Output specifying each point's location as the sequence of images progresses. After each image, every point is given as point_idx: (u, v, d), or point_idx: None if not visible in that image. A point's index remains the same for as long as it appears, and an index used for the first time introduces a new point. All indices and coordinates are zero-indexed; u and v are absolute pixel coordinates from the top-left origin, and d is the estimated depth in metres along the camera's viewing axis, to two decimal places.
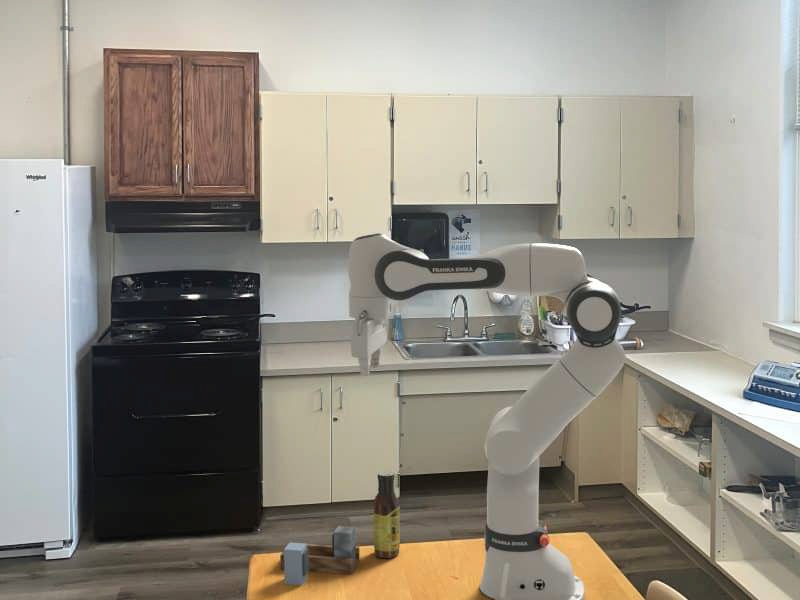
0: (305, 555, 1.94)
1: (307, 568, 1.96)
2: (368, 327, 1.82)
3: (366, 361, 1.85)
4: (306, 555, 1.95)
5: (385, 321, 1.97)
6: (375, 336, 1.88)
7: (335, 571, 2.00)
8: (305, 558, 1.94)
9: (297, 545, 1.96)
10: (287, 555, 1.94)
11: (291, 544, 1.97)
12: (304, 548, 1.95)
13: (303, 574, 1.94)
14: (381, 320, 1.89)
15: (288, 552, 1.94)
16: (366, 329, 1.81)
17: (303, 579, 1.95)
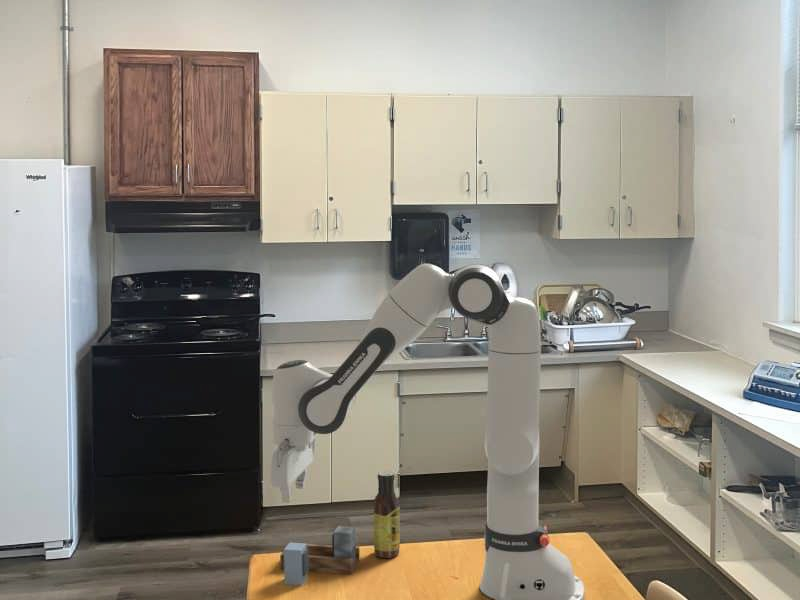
0: (305, 555, 1.94)
1: (307, 568, 1.96)
2: (288, 458, 1.84)
3: (287, 489, 1.87)
4: (306, 555, 1.95)
5: (311, 441, 2.00)
6: (297, 462, 1.91)
7: (335, 571, 2.00)
8: (305, 558, 1.94)
9: (297, 545, 1.96)
10: (287, 555, 1.94)
11: (291, 544, 1.97)
12: (304, 548, 1.95)
13: (303, 574, 1.94)
14: (304, 446, 1.91)
15: (288, 552, 1.94)
16: (286, 460, 1.84)
17: (303, 579, 1.95)
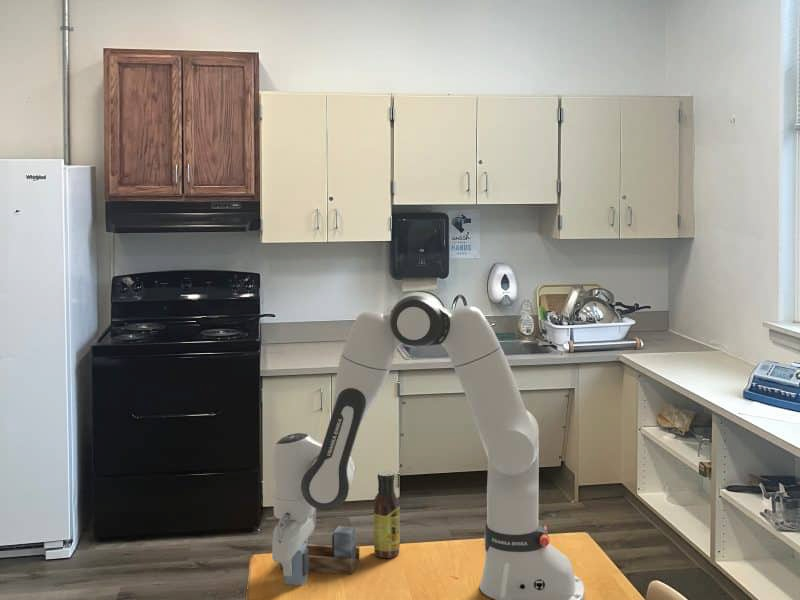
0: (305, 555, 1.94)
1: (307, 568, 1.96)
2: (289, 533, 1.86)
3: (288, 563, 1.89)
4: (306, 555, 1.95)
5: None
6: (298, 535, 1.93)
7: (335, 571, 2.00)
8: (305, 558, 1.94)
9: None
10: None
11: None
12: (304, 548, 1.95)
13: (303, 574, 1.94)
14: (304, 519, 1.93)
15: None
16: (287, 536, 1.85)
17: (303, 579, 1.95)
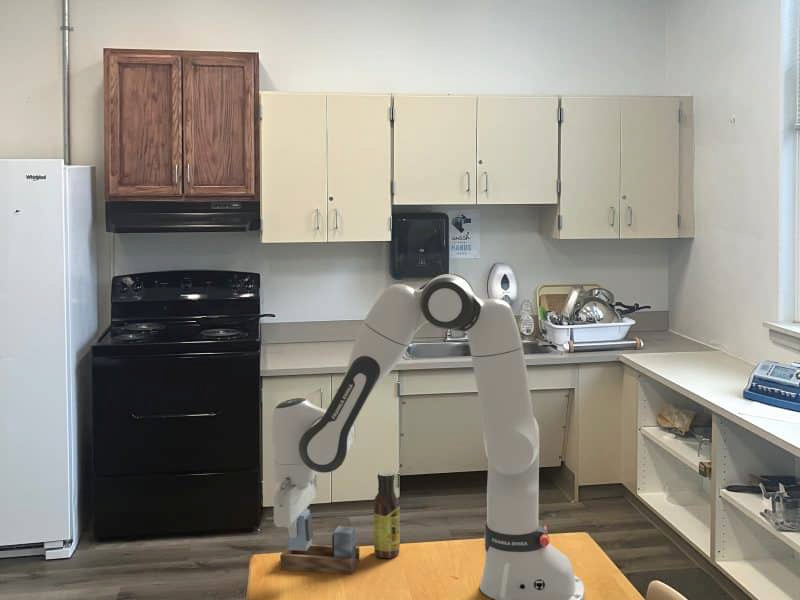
0: (308, 520, 1.93)
1: (311, 533, 1.95)
2: (290, 497, 1.85)
3: (293, 524, 1.90)
4: (309, 520, 1.94)
5: (313, 478, 2.01)
6: (300, 500, 1.92)
7: (335, 571, 2.00)
8: (308, 523, 1.93)
9: None
10: None
11: None
12: (307, 513, 1.94)
13: (307, 539, 1.93)
14: (305, 484, 1.92)
15: None
16: (288, 500, 1.84)
17: (307, 545, 1.94)
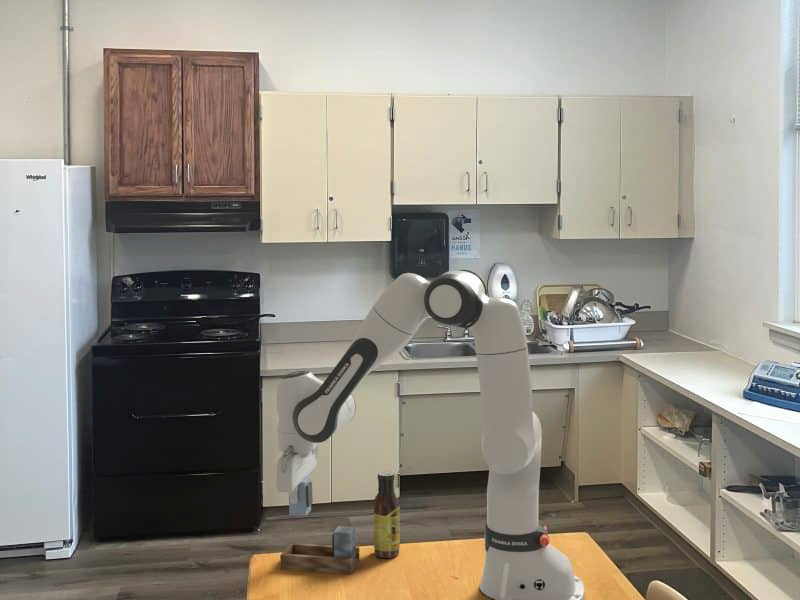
0: (308, 487, 2.02)
1: (311, 500, 2.03)
2: (292, 464, 1.94)
3: (294, 491, 1.99)
4: (310, 487, 2.03)
5: (314, 448, 2.10)
6: (301, 468, 2.00)
7: (335, 571, 2.00)
8: (308, 490, 2.02)
9: None
10: None
11: None
12: (307, 481, 2.03)
13: (307, 505, 2.02)
14: (307, 452, 2.01)
15: None
16: (290, 466, 1.93)
17: (307, 510, 2.03)
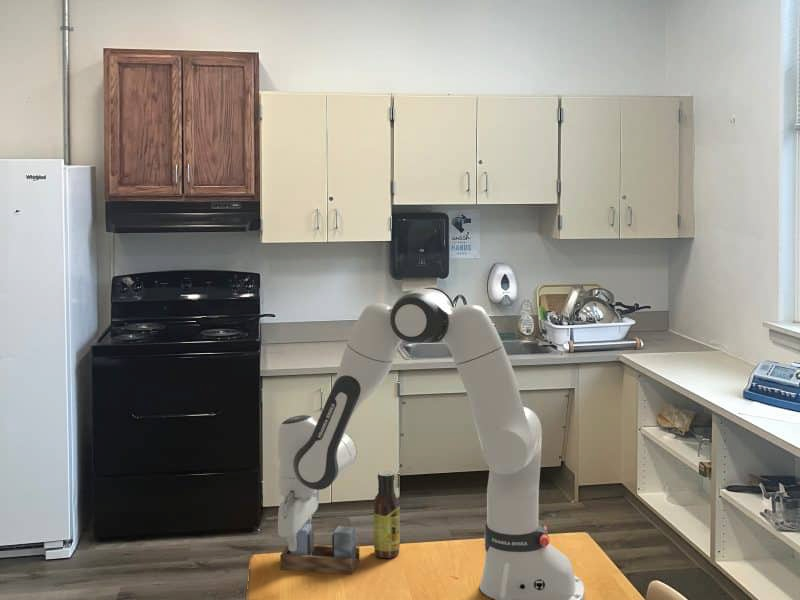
0: (310, 535, 2.03)
1: (312, 548, 2.05)
2: (294, 509, 1.95)
3: (293, 538, 1.98)
4: (311, 535, 2.04)
5: None
6: (303, 512, 2.01)
7: (335, 571, 2.00)
8: (310, 538, 2.03)
9: None
10: None
11: None
12: (309, 528, 2.04)
13: (308, 553, 2.03)
14: (308, 497, 2.02)
15: None
16: (291, 512, 1.94)
17: None
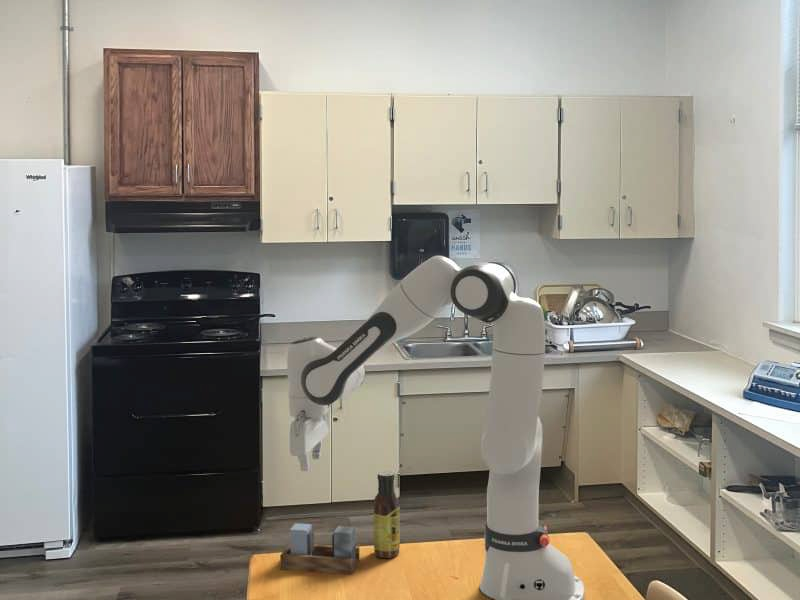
0: (310, 535, 2.03)
1: (312, 548, 2.05)
2: (305, 427, 1.95)
3: (305, 458, 1.98)
4: (311, 535, 2.04)
5: (325, 414, 2.11)
6: (314, 433, 2.02)
7: (335, 571, 2.00)
8: (310, 538, 2.03)
9: (302, 525, 2.05)
10: (293, 535, 2.03)
11: (297, 525, 2.06)
12: (309, 528, 2.04)
13: (308, 553, 2.03)
14: (319, 417, 2.02)
15: (294, 532, 2.03)
16: (303, 430, 1.95)
17: None
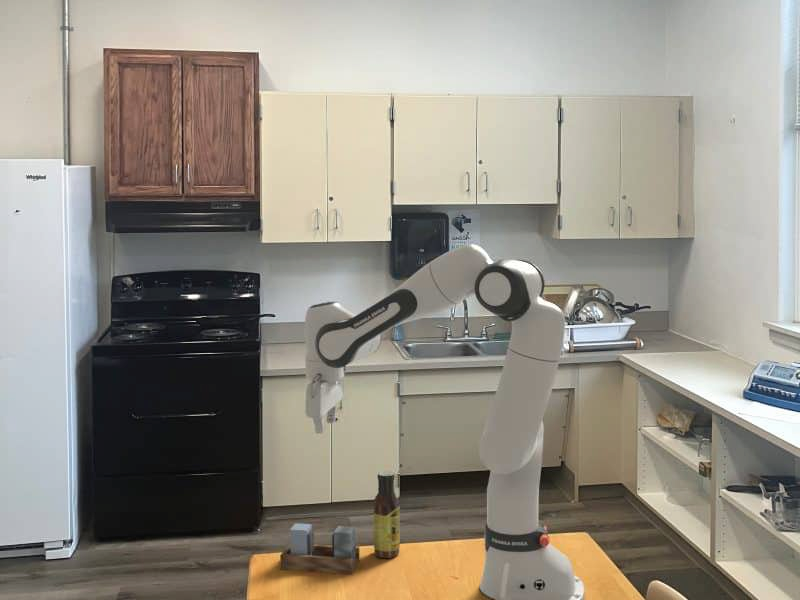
0: (310, 535, 2.03)
1: (312, 548, 2.05)
2: (321, 390, 1.98)
3: (320, 420, 2.01)
4: (311, 535, 2.04)
5: (341, 380, 2.14)
6: (329, 396, 2.04)
7: (335, 571, 2.00)
8: (310, 538, 2.03)
9: (302, 525, 2.05)
10: (293, 535, 2.03)
11: (297, 525, 2.06)
12: (309, 528, 2.04)
13: (308, 553, 2.03)
14: (335, 381, 2.05)
15: (294, 532, 2.03)
16: (319, 392, 1.97)
17: None
